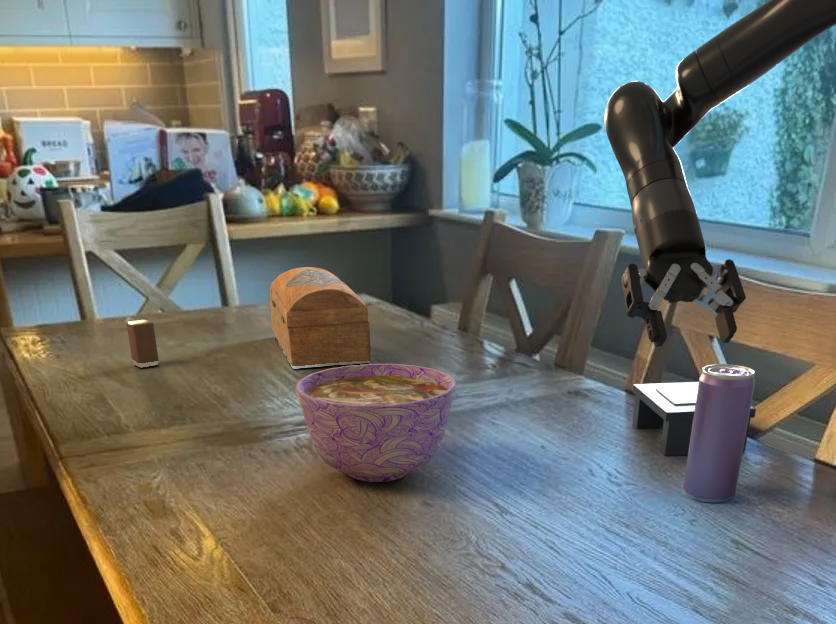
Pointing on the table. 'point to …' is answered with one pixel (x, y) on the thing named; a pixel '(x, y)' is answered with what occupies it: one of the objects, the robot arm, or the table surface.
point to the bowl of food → (376, 417)
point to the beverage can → (718, 432)
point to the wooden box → (318, 318)
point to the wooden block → (142, 341)
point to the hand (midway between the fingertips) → (695, 341)
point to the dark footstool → (670, 413)
